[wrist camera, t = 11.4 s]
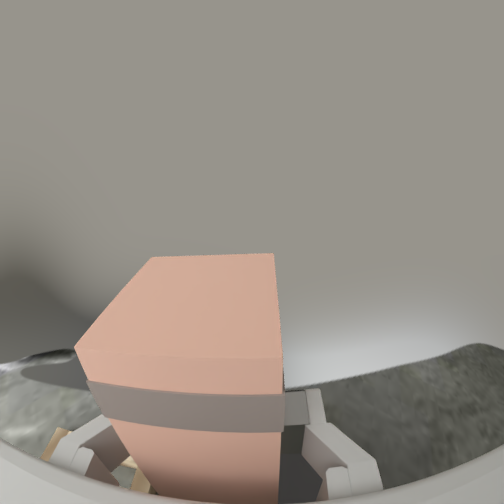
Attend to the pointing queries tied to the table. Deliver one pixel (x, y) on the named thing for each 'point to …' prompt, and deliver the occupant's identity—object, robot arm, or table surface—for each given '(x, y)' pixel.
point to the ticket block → (195, 375)
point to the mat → (297, 480)
